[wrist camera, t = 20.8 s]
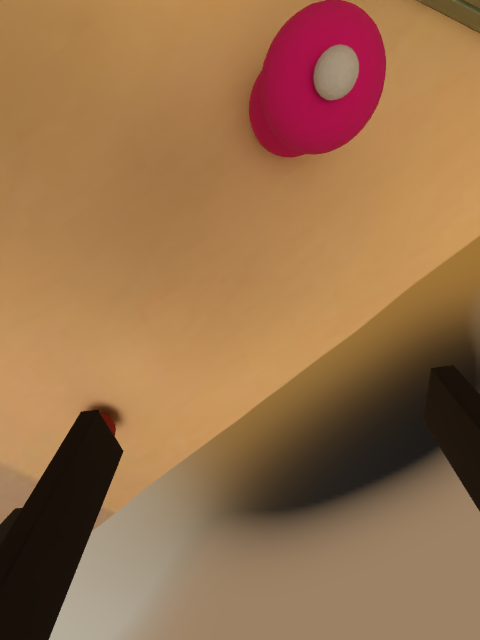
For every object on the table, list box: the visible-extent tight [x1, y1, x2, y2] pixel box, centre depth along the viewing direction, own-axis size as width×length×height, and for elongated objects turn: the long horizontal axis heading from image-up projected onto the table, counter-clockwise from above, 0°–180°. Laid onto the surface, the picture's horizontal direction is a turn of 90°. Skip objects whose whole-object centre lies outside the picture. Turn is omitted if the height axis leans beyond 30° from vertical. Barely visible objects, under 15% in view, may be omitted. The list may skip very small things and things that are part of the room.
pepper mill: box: [249, 0, 386, 157], centre depth 20 cm, size 7×7×20 cm
